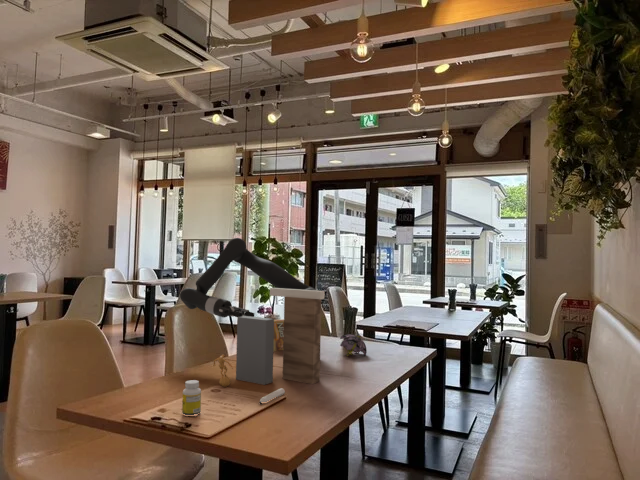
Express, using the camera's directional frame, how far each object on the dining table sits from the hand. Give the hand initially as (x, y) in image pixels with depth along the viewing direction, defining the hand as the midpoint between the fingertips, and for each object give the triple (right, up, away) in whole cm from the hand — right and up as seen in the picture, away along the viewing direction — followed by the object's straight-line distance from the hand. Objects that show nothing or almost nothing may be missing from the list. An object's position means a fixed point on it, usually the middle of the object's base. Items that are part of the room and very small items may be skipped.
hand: (247, 315), depth 205 cm
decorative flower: (+47, -25, +34) cm, 63 cm away
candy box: (+9, -25, +44) cm, 51 cm away
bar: (+21, +9, -13) cm, 26 cm away
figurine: (-5, -22, -28) cm, 36 cm away
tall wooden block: (+23, -23, -15) cm, 36 cm away
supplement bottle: (-8, -21, -59) cm, 63 cm away
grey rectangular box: (+5, -22, -18) cm, 29 cm away
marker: (+14, -22, -42) cm, 49 cm away
